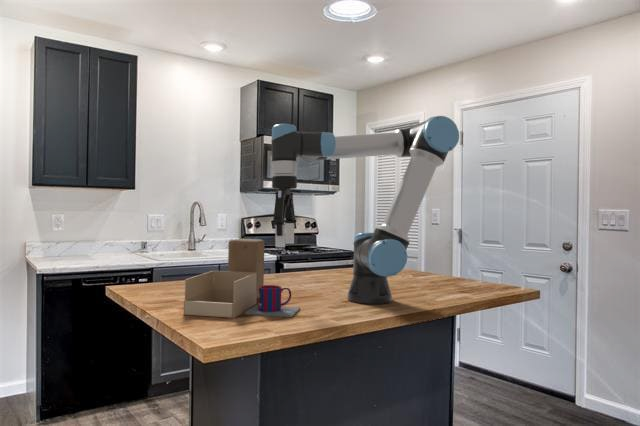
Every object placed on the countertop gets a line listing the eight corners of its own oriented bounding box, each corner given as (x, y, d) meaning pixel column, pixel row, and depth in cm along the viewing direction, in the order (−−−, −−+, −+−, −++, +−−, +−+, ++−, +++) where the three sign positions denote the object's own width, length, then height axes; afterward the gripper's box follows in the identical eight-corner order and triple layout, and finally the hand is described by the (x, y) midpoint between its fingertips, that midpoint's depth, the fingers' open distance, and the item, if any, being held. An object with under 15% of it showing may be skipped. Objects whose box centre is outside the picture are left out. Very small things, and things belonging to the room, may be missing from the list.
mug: (256, 307, 141) (257, 285, 141) (288, 306, 144) (289, 284, 144) (260, 312, 134) (260, 289, 134) (293, 311, 137) (294, 288, 137)
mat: (300, 309, 143) (300, 307, 143) (292, 317, 132) (292, 315, 132) (256, 306, 145) (256, 304, 145) (244, 314, 134) (244, 312, 134)
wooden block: (254, 301, 154) (255, 241, 154) (226, 299, 156) (227, 240, 156) (264, 296, 164) (265, 239, 164) (237, 294, 166) (238, 238, 166)
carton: (256, 303, 150) (257, 272, 150) (233, 318, 129) (234, 282, 129) (212, 300, 153) (213, 270, 153) (183, 314, 132) (183, 279, 132)
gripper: (281, 178, 154) (282, 242, 155) (261, 173, 130) (262, 248, 130) (303, 178, 153) (304, 242, 154) (288, 172, 129) (289, 248, 129)
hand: (285, 245), depth 142 cm, fingers open, 13 cm apart
